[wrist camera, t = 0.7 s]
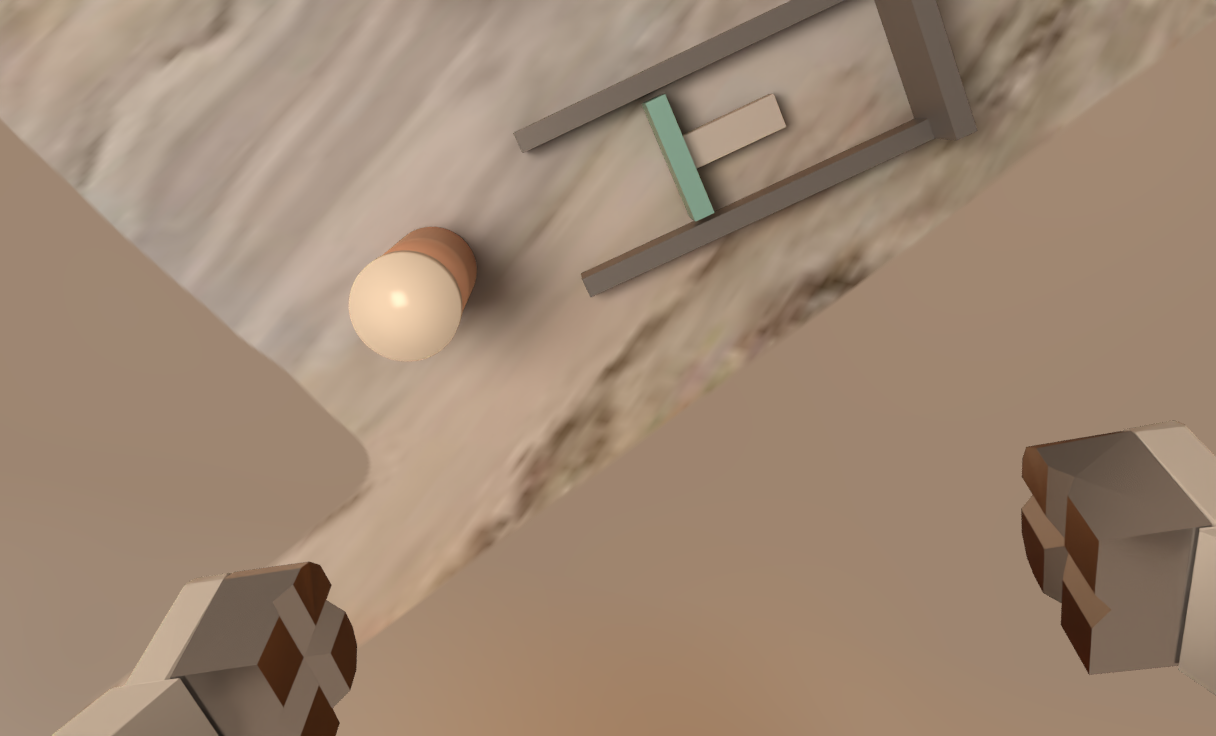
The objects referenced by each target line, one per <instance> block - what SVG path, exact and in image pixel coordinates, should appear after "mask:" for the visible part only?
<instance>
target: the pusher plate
mask: <svg viewBox="0 0 1216 736" xmlns="http://www.w3.org/2000/svg"><path fill="white" fill-rule="evenodd" d="M642 106H643V109H644V111H645V113H646V116H647V118H648V121H649V123H650V125H651V128H652V130H653V132H654V135H655V137H656V139H657V142H658V144H659V146H660V149H661V151H662V153H663V156H664V158H665V160H666V163H667V165H668V167H669V170H670V172H671V175H672V177H673V179H674V182H675V184H676V186H677V189H678V191H679V193H680V196H681V198H682V200H683V203H684V205H685V207H686V210H687V212H688V214H689V217H690V218H692V219H693V220H694V221H695V222H696V221H698V220H700V219H702V218H705V217H707V216H709V215H711V214H713V213H714V210H713V208H712V205H711V203H710V201H709V198H708V196H707V193H706V191H705V189H704V186H703V184H702V181H701V179H700V177H699V174H698V172H697V168H699V167H701V166H703V165H706V164H708V163H710V162H712V161H714V160H716V159H718V158H721V157H723V156H725V155H727V154H729V153H731V152H733V151H735V150H738V149H740V148H742V147H744V146H746V145H748V144H750V143H753V142H755V141H757V140H759V139H761V138H763V137H765V136H768V135H770V134H772V133H774V132H776V131H778V130H780V129H783V128H785V127H786V125H785V122H784V120H783V117H782V114H781V112H780V109H779V106H778V104H777V101H776V99H775V96H774V94H768V95H766V96H764V97H762V98H759V99H757V100H755V101H753V102H751V103H749V104H747V105H745V106H742V107H740V108H738V109H736V110H734V111H732V112H730V113H728V114H725V115H723V116H721V117H719V118H717V119H715V120H713V121H711V122H708V123H706V124H704V125H702V126H700V127H698V128H696V129H694V130H691V131H689V132H687V133H685V134H683V135H682V133H681V131H680V128H679V126H678V124H677V121H676V119H675V116H674V114H673V112H672V109H671V107H670V104H669V102H668V100H667V97H666V95H665V94H662V95H659V96H657V97H654V98H652V99H650V100H648V101H646V102H644V103H642Z"/></svg>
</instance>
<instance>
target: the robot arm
mask: <svg viewBox="0 0 1216 736" xmlns="http://www.w3.org/2000/svg"><path fill="white" fill-rule="evenodd" d="M1022 478H1023V480H1024V481H1025V483H1026V485H1027V486H1028V488H1029V490H1030V491H1031V493H1032V494H1033V495H1032V496H1031V498H1030V499H1029V500H1028V501H1027V502H1026V504H1025V505H1024V506H1023V507H1022V509H1021V517H1022V518H1021V520H1022V536H1023V540H1024V546H1025V551H1026V556H1027V559H1028V561H1029V564H1030V567H1031V569H1032V572H1033V574H1034V577H1035V578H1036V580H1037V582H1038V584H1039V586H1040V588H1041V590H1042V592H1043V593H1044V594H1046V595H1048V596H1049V597H1051V598H1053V599H1055V600H1057V601H1058V602H1060V603H1062V608H1061V626H1062V628H1063V630H1064V631H1065V633H1066V635H1067V636H1068V638H1069V640H1070V642H1071V643H1072V645H1073V647H1074V649H1075V651H1076V652H1077V654H1078V656H1079V658H1080V660H1081V661H1082V663H1083V665H1084V667H1085V668H1086V670H1087V672H1088V674H1089V675H1092V674H1102V673H1110V672H1121V671H1131V670H1140V669H1149V668H1160V667H1170V666H1179V668H1178V670H1179V671H1181V672H1182V673H1184V674H1185V675H1187V676H1188V677H1190V678H1191V679H1192V680H1194V681H1196V682H1197V683H1198V684H1200V685H1201V686H1203V687H1204V688H1206V689H1207V690H1208V691H1210V692H1211V693H1213V694H1214V695H1216V456H1215V455H1214V454H1213V453H1212V452H1211V451H1210V450H1209V449H1208V448H1207V447H1206V446H1205V445H1204V444H1203V443H1202V442H1201V441H1200V440H1199V439H1198V438H1197V437H1196V436H1195V435H1194V434H1193V433H1192V432H1191V431H1190V430H1189V428H1188V427H1187V426H1185V425H1184V424H1182V423H1180V422H1177V421H1174V420H1172V421H1168V422H1162V423H1156V424H1151V425H1145V426H1140V427H1134V428H1129V429H1124V430H1123V431H1120V432H1113V433H1107V434H1101V435H1095V436H1089V437H1083V438H1077V439H1071V440H1064V441H1058V442H1053V443H1047V444H1041V445H1034V446H1029V447H1026V449H1025V452H1024V455H1023V459H1022ZM330 588H331V583H330V581H329V580H328V578H327V576H326V574H325V573H324V571H323V569H322V567H321V566H320V565H319V564H315V563H312V562H303V563H296V564H288V565H281V566H274V567H266V568H259V569H252V570H244V571H237V572H233V573H227V574H220V575H214V576H206V577H199V578H195V579H194V580H192V581H190V582H189V583H187V584H185V585H184V587H183V588H182V590H181V592H180V593H179V595H178V597H177V599H176V600H175V602H174V604H173V605H172V607H171V608H170V610H169V612H168V613H167V615H166V617H165V618H164V620H163V622H162V623H161V625H160V627H159V629H158V630H157V632H156V634H155V635H154V637H153V638H152V640H151V642H150V643H149V645H148V647H147V649H146V651H145V652H144V654H143V655H142V657H141V659H140V660H139V662H138V664H137V665H136V667H135V669H134V670H133V672H132V674H131V675H130V677H129V679H128V680H127V682H126V684H125V685H124V686H121V687H115V688H111V689H110V690H108V691H107V692H106V693H105V694H103V695H102V696H101V697H100V698H98V699H97V700H96V701H95V702H93V703H92V704H91V705H89V706H88V707H87V708H86V709H84V710H83V711H82V712H81V713H79V714H78V715H77V716H75V717H74V718H73V719H72V720H70V721H69V722H68V723H67V724H66V725H64V726H63V727H62V728H60V729H59V730H58V731H56V732H55V733H54V734H53V735H52V736H336V733H337V730H338V727H339V724H340V723H339V720H338V719H337V717H336V714H335V712H334V710H333V707H334V706H335V705H336V704H337V703H338V702H339V701H340V700H341V699H342V698H343V697H344V696H345V695H346V694H347V693H348V692H349V691H350V689H351V686H352V683H353V679H354V676H355V672H356V664H357V643H356V639H355V635H354V631H353V627H352V625H351V622H350V620H349V618H348V616H347V614H346V612H345V611H343V610H342V609H340V608H338V607H337V606H335V605H333V604H332V603H330V602H329V601H327V600H326V599H327V596H328V594H329V591H330Z"/></svg>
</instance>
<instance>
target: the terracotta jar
mask: <svg viewBox="0 0 1216 736" xmlns="http://www.w3.org/2000/svg"><path fill="white" fill-rule="evenodd" d="M476 276H477V266H476V261H475V257H474V255H473V252H472V250H471V249H470V247H469V246H468V244H467V243H466V242H465V241H464V240H463V239H462V238H461V237H460V236H458V235H457V234H455V233H454V232H452V231H450V230H447V229H444V228H440V227H424V228H420V229H417V230H414V231H412V232H410V233H409V234H407V235H406V236H405V237H403V238H402V239H401V240H400V241H399V242H398V243H396V244H395V245H394V246H393V247H392V248H390V249H389V250H388V251H387V252H386V253H385V254H383V255H382V256H380V257H378V258H376V259H375V260H374V261H372V262H371V263H370V264H369V265H367V266H366V267H365V268H364V269H363V270H362V271H361V272H360V274H359V275H358V276H357V278H356V280H355V281H354V283H353V286H352V289H351V292H350V296H349V313H350V318H351V321H352V324H353V327H354V329H355V331H356V332H357V334H358V336H359V337H360V338H361V340H362V341H363V342H364V343H365V344H366V345H367V346H368V347H369V348H370V349H372V350H373V351H375V352H376V353H378V354H380V355H382V356H384V357H386V358H389V359H393V360H397V361H418V360H422V359H426V358H428V357H431V356H433V355H435V354H436V353H438V352H439V351H441V350H442V349H443V348H444V347H445V346H446V345H447V344H448V343H449V342H450V341H451V339H452V338H453V336H454V334H455V333H456V330H457V328H458V326H459V323H460V320H461V316H462V312H463V310H464V307H465V305H466V303H467V301H468V298H469V296H470V294H471V292H472V290H473V287H474V285H475V281H476Z"/></svg>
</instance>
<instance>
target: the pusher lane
mask: <svg viewBox="0 0 1216 736" xmlns="http://www.w3.org/2000/svg"><path fill="white" fill-rule="evenodd" d="M842 1H844V0H791V1H789V2H787V3H785V4H783V5H781V6H779V7H776V8H774V9H772V10H770V11H768V12H766V13H764V14H762V15H760V16H758V17H756V18H753V19H751V20H749V21H747V22H745V23H743V24H741V25H739V26H737V27H735V28H732V29H730V30H728V31H726V32H724V33H722V34H720V35H718V36H716V37H714V38H712V39H709V40H707V41H705V42H703V43H701V44H699V45H697V46H695V47H693V48H691V49H688V50H686V51H684V52H682V53H680V54H678V55H676V56H674V57H672V58H670V59H668V60H665V61H663V62H661V63H659V64H657V65H655V66H653V67H651V68H649V69H647V70H644V71H642V72H640V73H638V74H636V75H634V76H632V77H630V78H628V79H626V80H624V81H621V82H619V83H617V84H615V85H613V86H611V87H609V88H607V89H605V90H603V91H600V92H598V93H596V94H594V95H592V96H590V97H588V98H586V99H584V100H582V101H580V102H577V103H575V104H573V105H571V106H569V107H567V108H565V109H563V110H561V111H559V112H556V113H554V114H552V115H550V116H548V117H546V118H544V119H542V120H540V121H538V122H536V123H533V124H531V125H529V126H527V127H525V128H523V129H521V130H519V131H517V132H515V133H513V134H514V136H515V138H516V140H517V143H518V145H519V147H520V149H521V151H522V153H524V152H526V151H528V150H530V149H533V148H535V147H537V146H539V145H541V144H543V143H545V142H547V141H549V140H551V139H554V138H556V137H558V136H560V135H562V134H564V133H566V132H568V131H570V130H572V129H575V128H577V127H579V126H581V125H583V124H585V123H587V122H589V121H591V120H594V119H596V118H598V117H600V116H602V115H604V114H606V113H608V112H610V111H612V110H615V109H617V108H619V107H621V106H623V105H625V104H627V103H629V102H631V101H633V100H636V99H638V98H640V97H642V96H644V95H646V94H648V93H650V92H652V91H655V90H657V89H659V88H661V87H663V86H665V85H667V84H669V83H671V82H673V81H676V80H678V79H680V78H682V77H684V76H686V75H688V74H690V73H692V72H694V71H697V70H699V69H701V68H703V67H705V66H707V65H709V64H711V63H713V62H715V61H718V60H720V59H722V58H724V57H726V56H728V55H730V54H732V53H734V52H737V51H739V50H741V49H743V48H745V47H747V46H749V45H751V44H753V43H755V42H758V41H760V40H762V39H764V38H766V37H768V36H770V35H772V34H774V33H776V32H779V31H781V30H783V29H785V28H787V27H789V26H791V25H793V24H795V23H798V22H800V21H802V20H804V19H806V18H808V17H810V16H812V15H814V14H816V13H819V12H821V11H823V10H825V9H827V8H829V7H831V6H833V5H835V4H837V3H840V2H842ZM875 3H876V6H877V9H878V12H879V15H880V18H881V21H882V24H883V27H884V30H885V33H886V36H887V39H888V42H889V45H890V47H891V50H892V53H893V56H894V59H895V62H896V65H897V68H898V71H899V74H900V77H901V80H902V83H903V86H904V89H905V92H906V95H907V98H908V101H909V104H910V107H911V110H912V113H913V115H914V118H915V119H913V120H911V121H909V122H907V123H904V124H902V125H900V126H898V127H896V128H894V129H892V130H889V131H887V132H885V133H883V134H881V135H879V136H876V137H874V138H872V139H870V140H868V141H866V142H863V143H861V144H859V145H857V146H855V147H853V148H851V149H848V150H846V151H844V152H842V153H840V154H838V155H835V156H833V157H831V158H829V159H827V160H825V161H823V162H820V163H818V164H816V165H814V166H812V167H810V168H807V169H805V170H803V171H801V172H799V173H797V174H794V175H792V176H790V177H788V178H786V179H784V180H782V181H779V182H777V183H775V184H773V185H771V186H769V187H766V188H764V189H762V190H760V191H758V192H756V193H754V194H751V195H749V196H747V197H745V198H743V199H741V200H738V201H736V202H734V203H732V204H730V205H728V206H725V207H723V208H721V209H719V210H717V211H715V212H714V213H713V214H711V215H709V216H707V217H705V218H702V219H700V220H698V221H696V222H695V221H693V222H691V223H689V224H687V225H685V226H682V227H680V228H678V229H676V230H674V231H672V232H669V233H667V234H665V235H663V236H661V237H659V238H657V239H654V240H652V241H650V242H648V243H646V244H644V245H641V246H639V247H637V248H635V249H633V250H631V251H628V252H626V253H624V254H622V255H620V256H618V257H616V258H613V259H611V260H609V261H607V262H605V263H603V264H600V265H598V266H596V267H594V268H592V269H590V270H588V271H585V272H583V273H581V276H582V280H583V282H584V284H585V287H586V289H587V291H588V293H589V295H590V297H593V296H595V295H597V294H599V293H601V292H603V291H606V290H608V289H610V288H612V287H614V286H616V285H619V284H621V283H623V282H625V281H627V280H629V279H632V278H634V277H636V276H638V275H640V274H642V273H645V272H647V271H649V270H651V269H653V268H655V267H658V266H660V265H662V264H664V263H666V262H668V261H671V260H673V259H675V258H677V257H679V256H681V255H684V254H686V253H688V252H690V251H692V250H694V249H697V248H699V247H701V246H703V245H705V244H707V243H710V242H712V241H714V240H716V239H718V238H720V237H723V236H725V235H727V234H729V233H731V232H733V231H736V230H738V229H740V228H742V227H744V226H746V225H749V224H751V223H753V222H755V221H757V220H759V219H762V218H764V217H766V216H768V215H770V214H772V213H775V212H777V211H779V210H781V209H783V208H785V207H788V206H790V205H792V204H794V203H796V202H798V201H801V200H803V199H805V198H807V197H809V196H811V195H814V194H816V193H818V192H820V191H822V190H824V189H827V188H829V187H831V186H833V185H835V184H837V183H840V182H842V181H844V180H846V179H848V178H850V177H853V176H855V175H857V174H859V173H861V172H863V171H866V170H868V169H870V168H872V167H874V166H876V165H879V164H881V163H883V162H885V161H887V160H889V159H892V158H894V157H896V156H898V155H900V154H902V153H905V152H907V151H909V150H911V149H913V148H915V147H918V146H920V145H922V144H924V143H926V142H928V141H931V140H933V139H946V140H959V139H961V138H963V137H965V136H968V135H970V134H972V133H974V132H976V131H977V128H976V124H975V121H974V118H973V115H972V112H971V109H970V106H969V103H968V99H967V96H966V93H965V90H964V87H963V84H962V81H961V77H960V74H959V71H958V68H957V65H956V62H955V59H954V55H953V52H952V49H951V46H950V43H949V40H948V37H947V34H946V30H945V27H944V24H943V21H942V18H941V15H940V12H939V8H938V5H937V2H936V0H875Z"/></svg>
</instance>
